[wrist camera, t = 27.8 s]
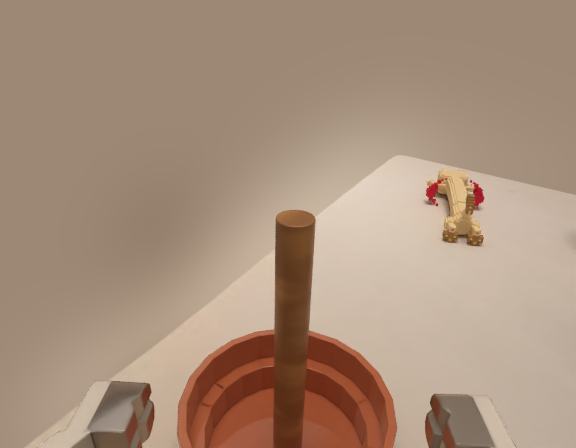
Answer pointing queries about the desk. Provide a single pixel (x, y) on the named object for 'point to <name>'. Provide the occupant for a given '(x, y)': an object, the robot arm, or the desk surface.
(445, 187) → the cat figure
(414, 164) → the desk surface
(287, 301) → the stirring stick
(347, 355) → the bowl
